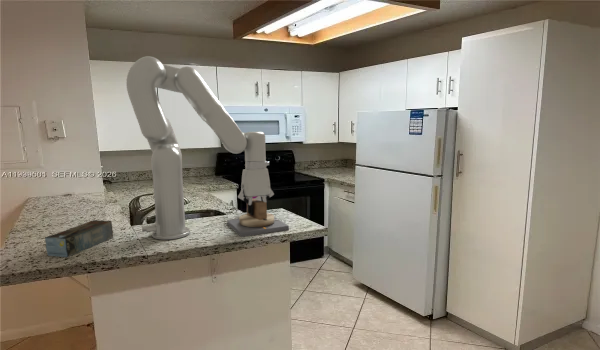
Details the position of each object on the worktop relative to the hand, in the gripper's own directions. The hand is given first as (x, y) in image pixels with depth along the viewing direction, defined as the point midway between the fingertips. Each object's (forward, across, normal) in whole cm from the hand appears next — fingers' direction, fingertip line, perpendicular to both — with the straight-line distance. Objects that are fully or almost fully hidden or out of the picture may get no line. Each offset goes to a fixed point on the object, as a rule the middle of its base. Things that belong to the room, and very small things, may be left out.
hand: (256, 213), depth 134 cm
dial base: (+5, 0, 0) cm, 5 cm away
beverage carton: (+6, +57, -6) cm, 58 cm away
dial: (+3, 0, 0) cm, 3 cm away
